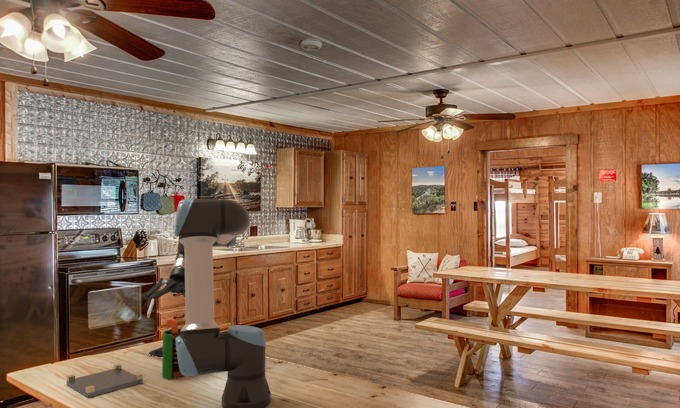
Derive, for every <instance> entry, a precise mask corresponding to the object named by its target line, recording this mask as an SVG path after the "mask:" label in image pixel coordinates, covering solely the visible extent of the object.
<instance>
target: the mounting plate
mask: <svg viewBox="0 0 680 408" xmlns="http://www.w3.org/2000/svg"><path fill="white" fill-rule="evenodd" d="M140 384H143V373H141V372H138V373H132V372H130V371H127V370H126V369H123V368H122V364H121V363H116V364H113V368H112V369H107V370H104V371H103V370H102V371H100V372H95V373H91V374H88V375H83V376H79V377H76V375H75V374H69V375H66V386H67V387H70V388H71V389H72V390H74V391H76V392H77V393H79V394H81V395H83V396H84V397H86V398H87V399H89V398H93V397H97V396H100V395H104V394H108V393H111V392H114V391H119V390H123V389H126V388H129V387H133V386H137V385H140Z"/></svg>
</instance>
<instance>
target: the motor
mask: <svg viewBox="0 0 680 408" xmlns="http://www.w3.org/2000/svg"><path fill="white" fill-rule="evenodd" d="M166 326H170V327H171V329H166V330H164V331H162V347H163V358H162V365H161V366H162V370H161V371H162V372H161V376H162V379H166V380H172V379H181V378H184V377H186V376H184V375H182V374H181V372H180V368H179V364H178V358H177V351H176V342H175V339H176V337H178V336H181V329H182V328H183V327H182V328H180V327H178V321H177V320H176V319H175V318H169V319H166Z"/></svg>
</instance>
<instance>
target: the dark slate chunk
mask: <svg viewBox="0 0 680 408" xmlns="http://www.w3.org/2000/svg"><path fill="white" fill-rule="evenodd" d="M149 354H150V355H153V356H152V357H156V356H157V357H156V358H161V357H163V346H161V347H158V348H156V349H153V350H151V351H149V352H148V355H149Z"/></svg>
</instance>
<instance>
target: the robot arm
mask: <svg viewBox="0 0 680 408" xmlns="http://www.w3.org/2000/svg"><path fill="white" fill-rule="evenodd" d="M250 222H251V217H250V214H249V211H248V210H247V208H246V207H245V206H243V205H242V204H241V203H239V202H237V201H234V200H232V199H227V198H226V199H224V198H223V199H217V198H216V199H213V198H212V199H211V198H208V199H207V198H191V199H190V198H189V199H187V198H186V199H181V200H180V201H179V202H178V205H177V209H176V216H175V223H174V232H173V233H174V236H176V237H178V241H177V242H178V244H177V253H176V257H175V260H174V262H173V265H172V268H171V271H170V274H169V277H168V279H164V278H163V277H161V278H159V280H158V281H157V283H156V284H155V285H153V286H152V287H151V288H150V289H148V291H147V292H146V293H145V294H144V300H145V301H146V300H147V303H146V309H148V310H147V313H146V318H147V319H150V316H151V313H152V311H153V307H154V305H155V301H156V300H157V299H160V298H161V297H162V296H164V295H166V294H169V293H171V294H178V295H179V294H182V296H183V297H184V298H185V299H184V302H185V303H184V306H185V311H184V312H185V324H184V325H183V327H182V329H181V336H178V337H176V339H175V342H176V351H177V358H178V364H179V368H180V372H181V374H182V375H184V376H185V377H193V376H196V377H198V376H202V375H203V376H204V375H210V374H219V373H226V372H227V380H226V382H225V386H224V389H223V392H222V395H221V406H222V408H266V407H268V406H269V405H270V404H271V401H272V393H271V390H270V387H269V384H268V380H267V377H266V347H267V343H266V333H265V331H264V330H263V329H261V328H259V327H256V326H250V325H246V324H245V325H243V324H242V325H241V324H240V325H239V324H235V325H230V326H228V328H227V330H226V332H221V327H220V325H219V324H218V323H217V322H216V320H215V290H214V289H215V288H214V285H215V284H214V258H213V257H214V256H213V251H214V250H213V248H214V247H215V248H216V247H218V248H220V247H225V248H228V247H234V246H235V245H236V243H237V236H239V235H241V234H243V233H245V232H246V231H247V230H248V229H249V226H250V224H251V223H250ZM163 286H164V287H163ZM162 287H163V288H162ZM161 288H162V289H161Z"/></svg>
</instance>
